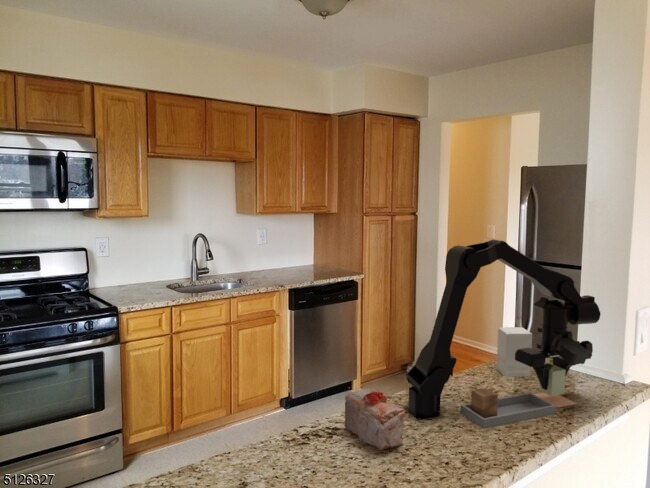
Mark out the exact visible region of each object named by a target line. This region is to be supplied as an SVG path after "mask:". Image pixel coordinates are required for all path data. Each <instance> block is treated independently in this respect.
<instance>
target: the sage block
mask: <svg viewBox="0 0 650 488" xmlns="http://www.w3.org/2000/svg"><path fill="white" fill-rule="evenodd" d="M565 373H566V370H565V369H563V368H560V367H558V366H555V365H554V366H553V367H552V368H551V369H550V370H549V379H548V387H547V390H545V389H543V388H542V386H541V384H540V381H539V380H538V381H539V385H538V386H539V387H538V391H540V392H541V393H546V394H548V395H550V396H555V395H560V396H562V395H565V393H566V392H565V391H566V377H565Z"/></svg>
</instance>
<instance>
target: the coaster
mask: <svg viewBox="0 0 650 488" xmlns="http://www.w3.org/2000/svg"><path fill="white" fill-rule="evenodd" d="M533 394H534V393H533ZM534 395H536V396H538V397H540V398H542V399H544V400H546V401H548V402H550V403H552V404H554V405H556V409H557V408H562V407H567V406H573V405H577V404H578V403H577V402H575V401H573V400H570V398H566V397H565V396H562V395H555V396H550V395H548V394H546V393H544V392H541V393H535V394H534Z"/></svg>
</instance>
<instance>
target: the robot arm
mask: <svg viewBox="0 0 650 488" xmlns="http://www.w3.org/2000/svg"><path fill="white" fill-rule="evenodd" d="M497 260H498V261H499V262H501V263H502V264H504V265H506V266H508V267H509V268H510V269H512V270H514V271H515V272H517V273H519V274H520V275H522V276H524V277H525V278H526V279H528V280H529V281H530V282H531V283H532V285H533V286H534V287H535V288H536V289H537V290H538V291H539V292H540V293H541V294H542V295H545V296H548V297H551V298H553V299H549V298H547V297H543V296H541V297H540V299H538V300H537V301H535V303H534V304H533V305H534V306H535V307H537V308H540V309H542V311H541V315H542V317H541V326H539V327H537V333H541V334H540V335H541V336H540V337H541V338H540V343H536V348H537V349H538V350H536V349H534V348H533V347H532V348H522V349H518V350H517V351H516V352H515V360H516V361H518V362H521V363H523V364H525V365H528V366H530V367H531V368H533V370H534V372H535V375H536V376H537V378H538V381H540V384H541V386H542V388H543V389H545V390H547V387H548V379H549V370H550V369H551V368H552V367H553V366H554V365H555V366H558V367H560V368H563V369H565V370H566V373H565V378H566V376H567V374H568V372H569V370H570V368H571V367H573V366H576V365H584V364H585V362H586V360H589V359H592V357H593V353H594V352H593V351H594V350H593V342H591V341H589V340H582V341H581V342H580V341H579V340H577V341H576V340H574V339H573V332H572V331H570V330H569V328H568V327H569V324H570V325H590V324H596V323H598V322H599V321H600V319H601V311H600V308H599V305H598V304H597V302H596V301H595V296H593V295H583V296H581V295H580V293H579V292H578V290H577V288H576V286H575V281H574V279H573V278H572V277H570V276H569V275H566V274H562V273H560V272H558V271H554V270H552V269H549V268H545V267H544V266H543V265H541V264H539V263H538V262H536V261H535V260H533V259H531V258H529V257H528V256H527V255H525V254H524V253H522V252H520V251H519V250H517V249H515V248H514V247H513V246H511V245H509V243H507V242H506V241H505V240H500V239H490V240H488V241H485V242H479V243H473V244H470V245H469V244H468V245H465V246H464V245H454V246H452V247H451V248H449V250H448V251H447V254H446V256H445V265H444V271H445V279H446V283H445V287H444V288H443V289H444V291H443V294H442V296H441V300H440V303H439V308H438V310H437V315H436V318H435V321H434V324H433V325H434V326H433V327H432V328H433V329H432V330H431V331H432V332H431V335H430V339H429V340H428V342H427V343H426V344H425V345H424V346H423V348H422V349H421V350H420V353H419V354H418V357H417V359H416V362H415V364H414V365H413V366H412V368H410V370H409V371H408V372H407V373H406V374H405V378H406V380H407V381H406V382H407V383H408V384H410V385H411V386H410V387H408V407H406V408H404V409H405V411H406V412H407V413H409V414H410V416H411V415H412V416H413V417H414V418H415V419H417V420H418V421H423V420H428V419H435V418H439V417H443V414H442V413H441V400H442V399H441V395H442V394H443V390H444V387H445V385H446V384H447V383H448V381H449V379H450V377H453V376H454V373H453V372H454V368H455V366H456V364H457V358H456V357H455V356H453V354H452V353H451V345H452V343H453V339H454V337H455V336H454V335H455V331H456V328H457V325H458V323H459V318H460V314H461V311H462V307H463V304H464V301H465V297H466V293H467V291H468V288H469V287H470V285H471V284H472V283H473V282H474V281H475V280H476V278H477V276H478V275H479V273H480V271H481V268H483V267H486V266H488V265H491V264H493V263H495V262H497ZM554 298H555V299H554ZM560 300H561V301H560ZM562 301H564V302H562ZM550 358H552V359H553V365H551V364H549V362H550Z"/></svg>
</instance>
